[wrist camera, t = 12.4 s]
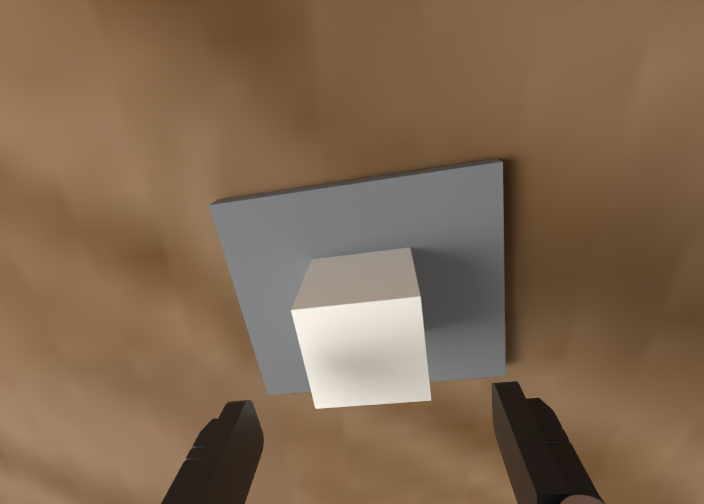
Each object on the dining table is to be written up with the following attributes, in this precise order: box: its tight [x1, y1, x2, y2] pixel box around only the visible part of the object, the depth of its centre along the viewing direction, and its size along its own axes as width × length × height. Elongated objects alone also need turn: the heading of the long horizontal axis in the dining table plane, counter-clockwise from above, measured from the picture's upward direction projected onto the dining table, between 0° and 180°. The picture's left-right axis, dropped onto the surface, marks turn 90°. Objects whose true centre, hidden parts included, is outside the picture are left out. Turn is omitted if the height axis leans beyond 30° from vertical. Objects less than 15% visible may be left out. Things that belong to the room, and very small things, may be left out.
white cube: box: [291, 247, 431, 409], centre depth 17 cm, size 5×5×5 cm
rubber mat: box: [209, 158, 506, 395], centre depth 20 cm, size 14×12×1 cm
